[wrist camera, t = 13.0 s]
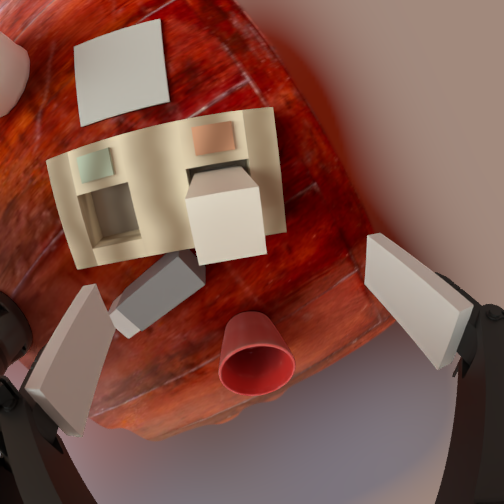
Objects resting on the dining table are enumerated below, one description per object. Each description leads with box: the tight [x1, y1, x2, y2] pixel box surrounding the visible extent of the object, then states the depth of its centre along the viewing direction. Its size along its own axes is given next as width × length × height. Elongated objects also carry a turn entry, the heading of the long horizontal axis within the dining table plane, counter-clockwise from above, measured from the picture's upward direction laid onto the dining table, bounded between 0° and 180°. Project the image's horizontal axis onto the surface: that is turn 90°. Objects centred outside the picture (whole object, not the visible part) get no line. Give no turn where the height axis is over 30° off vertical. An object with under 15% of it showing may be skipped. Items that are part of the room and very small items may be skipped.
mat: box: [74, 19, 170, 127], centre depth 27 cm, size 12×12×1 cm
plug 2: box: [185, 165, 267, 266], centre depth 26 cm, size 5×5×15 cm
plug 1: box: [108, 249, 206, 339], centre depth 37 cm, size 15×5×5 cm, turn 126°
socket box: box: [46, 107, 286, 270], centre depth 31 cm, size 26×14×6 cm, turn 97°
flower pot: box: [219, 311, 296, 396], centre depth 41 cm, size 11×11×10 cm
